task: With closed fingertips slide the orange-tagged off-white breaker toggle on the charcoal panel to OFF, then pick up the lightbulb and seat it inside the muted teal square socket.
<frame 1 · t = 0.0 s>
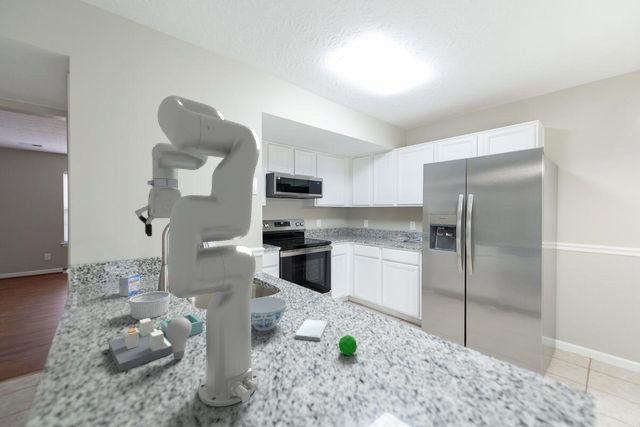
hand: (165, 235, 89), 31 cm above the counter, fingers open, 9 cm apart
polyhedron: (347, 354, 71), on the counter
ramekin: (150, 314, 99), on the counter
chinaware: (264, 327, 88), on the counter
lightbulb: (179, 359, 69), on the counter
hard drive: (312, 332, 85), on the counter
medicine box: (130, 294, 124), on the counter
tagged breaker: (131, 337, 72), point 4 cm above the counter, slide at 0.0 cm
socket: (181, 332, 84), on the counter
breaker panel: (140, 350, 73), on the counter
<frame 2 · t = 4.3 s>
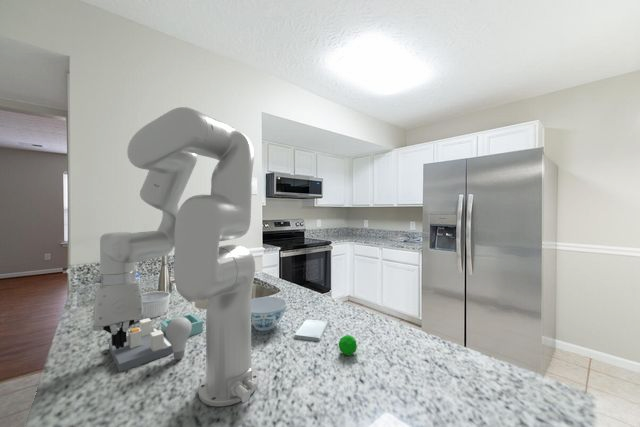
hand: (119, 346, 70), 3 cm above the counter, fingers closed
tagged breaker: (134, 337, 72), point 4 cm above the counter, slide at 0.7 cm, touching gripper
everything else where it was.
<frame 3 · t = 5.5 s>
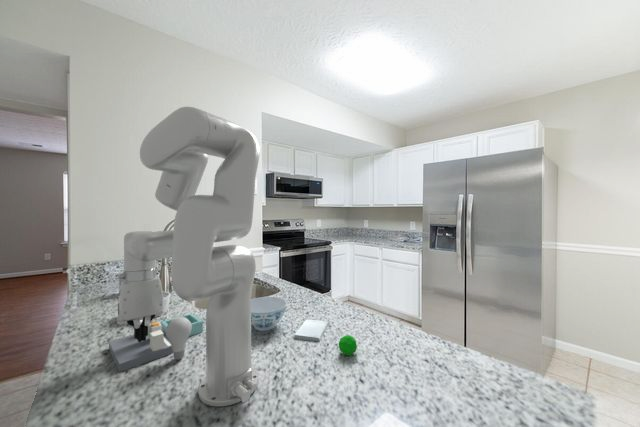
hand: (141, 339, 73), 3 cm above the counter, fingers closed
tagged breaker: (155, 331, 76), point 4 cm above the counter, slide at 5.6 cm, touching breaker panel, gripper
everything else where it was.
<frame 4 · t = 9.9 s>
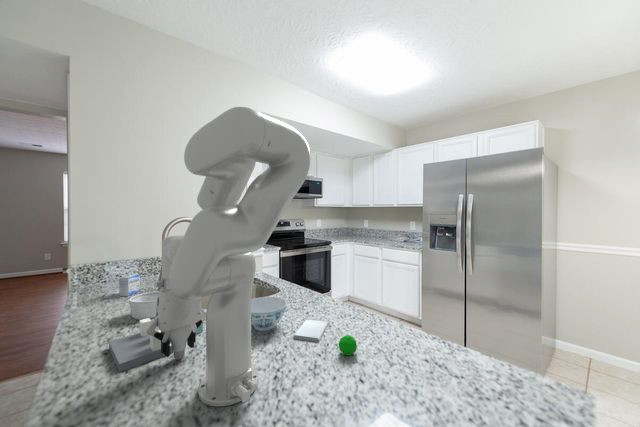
hand: (178, 349, 69), 2 cm above the counter, fingers closed on lightbulb, 5 cm apart
lightbulb: (179, 359, 69), on the counter, touching gripper
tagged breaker: (155, 330, 76), point 4 cm above the counter, slide at 5.7 cm, touching breaker panel
everything else where it was.
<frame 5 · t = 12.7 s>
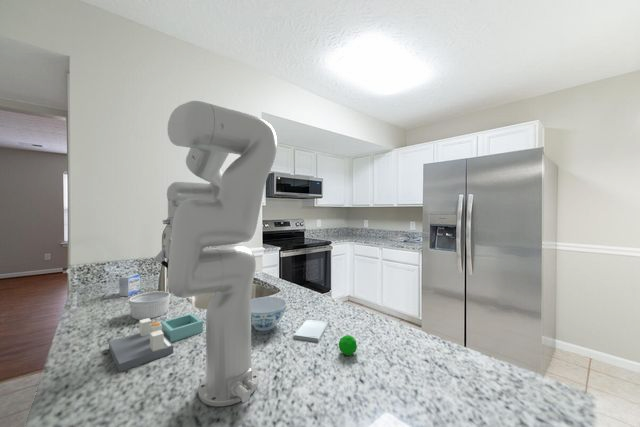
hand: (181, 278, 84), 18 cm above the counter, fingers closed on lightbulb, 5 cm apart
lightbulb: (181, 286, 84), point 15 cm above the counter, touching gripper
everything else where it was.
when the fingers open (4 cm above the counter, at t = 15.6 s): lightbulb drops 1 cm, resting in socket.
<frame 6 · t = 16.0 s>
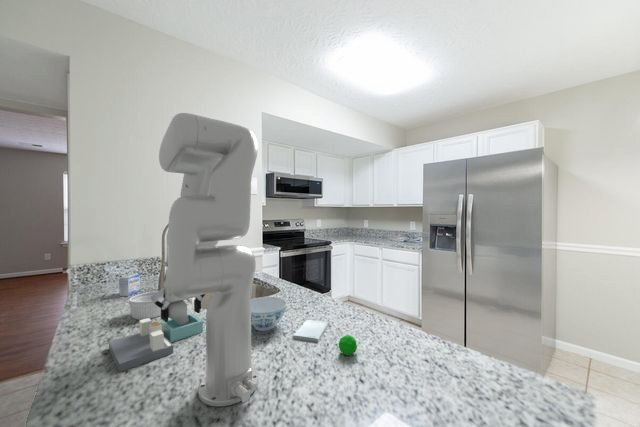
hand: (181, 316, 84), 5 cm above the counter, fingers open, 9 cm apart
lightbulb: (188, 329, 85), resting in socket, touching gripper
everything else where it was.
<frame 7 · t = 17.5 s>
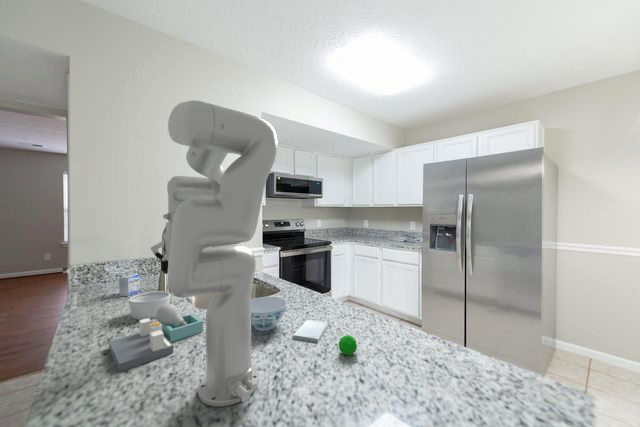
hand: (182, 270, 84), 20 cm above the counter, fingers open, 9 cm apart
lightbulb: (187, 328, 85), point 1 cm above the counter, touching socket
everything else where it was.
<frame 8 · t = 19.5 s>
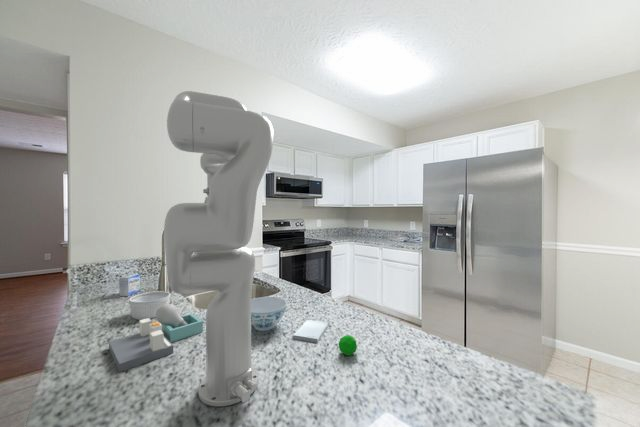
hand: (219, 244, 87), 28 cm above the counter, fingers open, 9 cm apart
nothing on the counter moved.
at the end: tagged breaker slide at 5.7 cm; lightbulb inside the target area on the socket (1.5 cm from its centre), point 0.8 cm above the socket's base; the gripper is holding nothing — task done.
